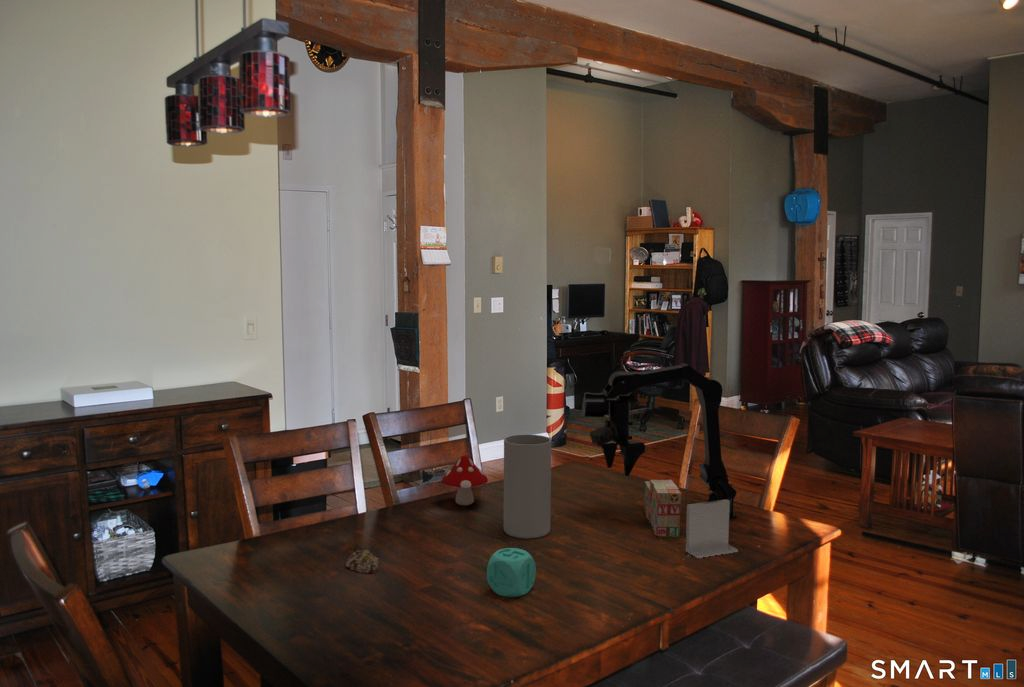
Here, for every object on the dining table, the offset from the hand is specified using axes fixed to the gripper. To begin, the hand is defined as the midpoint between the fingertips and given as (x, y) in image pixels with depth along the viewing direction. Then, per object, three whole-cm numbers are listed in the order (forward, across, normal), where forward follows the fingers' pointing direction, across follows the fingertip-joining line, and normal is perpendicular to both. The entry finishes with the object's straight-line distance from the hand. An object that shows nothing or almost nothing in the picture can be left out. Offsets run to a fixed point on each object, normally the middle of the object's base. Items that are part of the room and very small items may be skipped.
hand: (618, 471), depth 215 cm
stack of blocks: (+14, +10, +8) cm, 19 cm away
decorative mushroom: (+14, -27, -36) cm, 47 cm away
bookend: (+13, +32, +8) cm, 36 cm away
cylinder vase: (+14, +1, -29) cm, 32 cm away
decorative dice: (+14, +33, -48) cm, 60 cm away
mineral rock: (+14, +8, -74) cm, 76 cm away
